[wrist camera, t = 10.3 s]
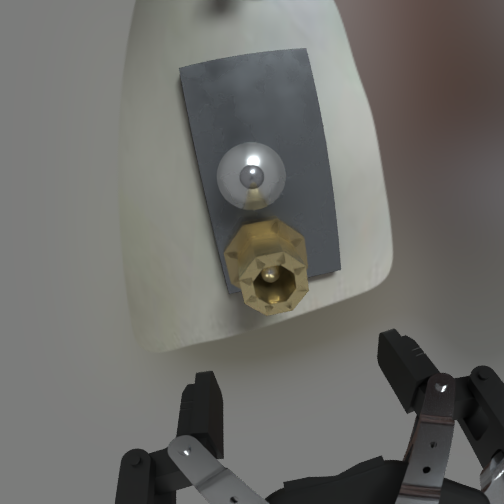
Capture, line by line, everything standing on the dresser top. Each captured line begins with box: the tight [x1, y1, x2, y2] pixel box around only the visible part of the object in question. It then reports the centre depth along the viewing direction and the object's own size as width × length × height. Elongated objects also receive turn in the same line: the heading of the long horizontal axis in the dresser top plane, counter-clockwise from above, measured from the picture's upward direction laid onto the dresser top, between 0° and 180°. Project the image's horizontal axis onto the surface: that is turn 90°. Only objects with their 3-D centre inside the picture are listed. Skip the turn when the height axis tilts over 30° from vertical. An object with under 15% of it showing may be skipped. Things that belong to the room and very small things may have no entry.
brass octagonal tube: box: [224, 216, 309, 316], centre depth 24 cm, size 7×7×6 cm
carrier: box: [179, 48, 341, 294], centre depth 23 cm, size 21×11×5 cm, turn 11°
